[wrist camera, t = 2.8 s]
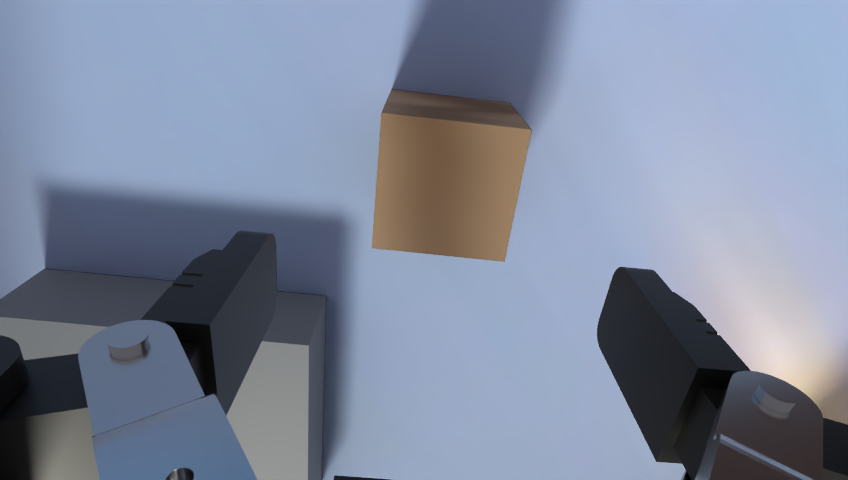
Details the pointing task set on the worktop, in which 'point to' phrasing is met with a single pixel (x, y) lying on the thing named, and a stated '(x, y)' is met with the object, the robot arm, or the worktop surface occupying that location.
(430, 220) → the walnut cube
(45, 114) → the worktop surface
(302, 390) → the gray square block
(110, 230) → the worktop surface
